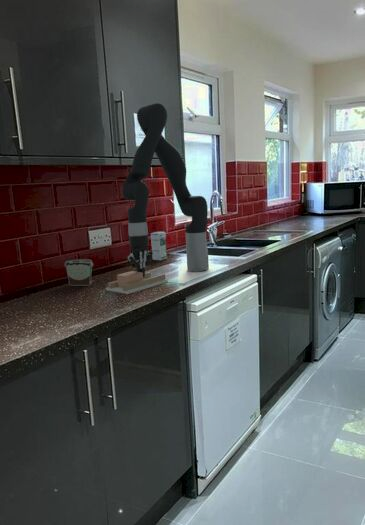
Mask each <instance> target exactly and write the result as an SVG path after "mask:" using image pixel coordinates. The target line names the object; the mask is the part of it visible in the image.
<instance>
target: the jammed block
mask: <svg viewBox="0 0 365 525" xmlns="http://www.w3.org/2000/svg"><path fill="white" fill-rule="evenodd" d="M140 280H143V272H137V271H134V270H131V271H127V272H123V273H118V274H117V275H116V281H117V284H118V286H119V287H123V286H122V285H126V284H129V283H133V282H136V281H140Z"/></svg>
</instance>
